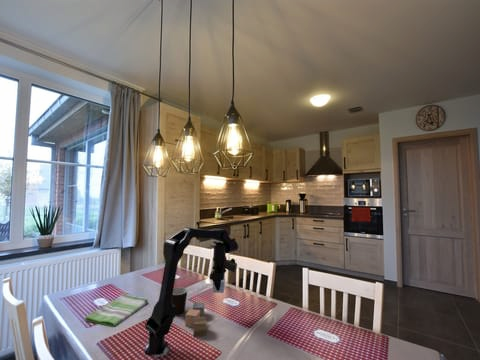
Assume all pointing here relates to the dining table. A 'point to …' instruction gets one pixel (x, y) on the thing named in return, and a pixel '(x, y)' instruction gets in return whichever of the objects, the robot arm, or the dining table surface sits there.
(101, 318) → the dish towel
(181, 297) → the coffee mug
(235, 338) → the dining table surface
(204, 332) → the walnut block
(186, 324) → the terracotta block
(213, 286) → the grey cube
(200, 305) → the grey block
